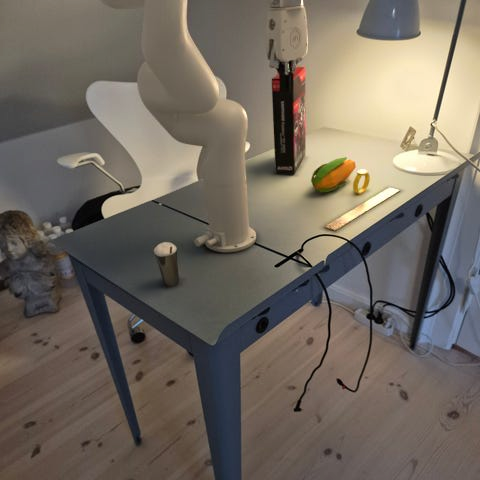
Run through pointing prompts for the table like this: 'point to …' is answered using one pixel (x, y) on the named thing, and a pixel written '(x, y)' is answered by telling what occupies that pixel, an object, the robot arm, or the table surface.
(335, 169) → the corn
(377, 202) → the ruler
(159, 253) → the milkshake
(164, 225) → the table surface
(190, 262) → the table surface
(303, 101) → the graphics card box
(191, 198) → the table surface
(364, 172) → the watch
